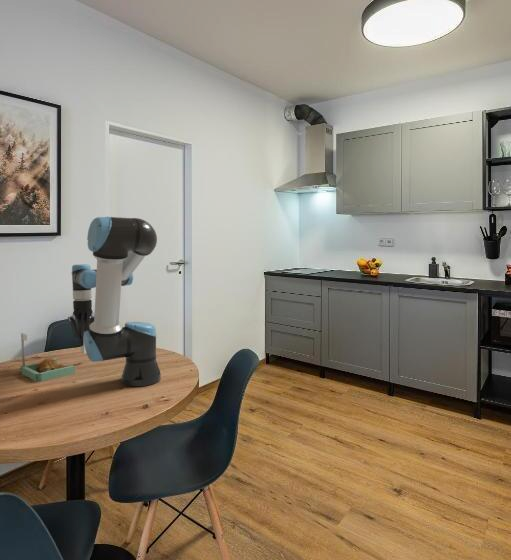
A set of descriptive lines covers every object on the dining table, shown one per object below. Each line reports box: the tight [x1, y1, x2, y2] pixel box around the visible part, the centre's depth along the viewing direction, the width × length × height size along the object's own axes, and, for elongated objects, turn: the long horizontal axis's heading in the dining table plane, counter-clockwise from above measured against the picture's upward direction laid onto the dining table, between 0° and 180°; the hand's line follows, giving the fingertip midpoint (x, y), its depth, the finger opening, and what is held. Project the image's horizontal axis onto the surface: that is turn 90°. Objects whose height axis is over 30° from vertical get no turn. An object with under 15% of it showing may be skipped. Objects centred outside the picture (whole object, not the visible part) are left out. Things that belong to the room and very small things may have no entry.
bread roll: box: [36, 357, 64, 373], centre depth 173 cm, size 10×10×8 cm
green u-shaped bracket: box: [19, 332, 76, 383], centre depth 172 cm, size 16×15×17 cm
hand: (84, 352), depth 184 cm, fingers closed
